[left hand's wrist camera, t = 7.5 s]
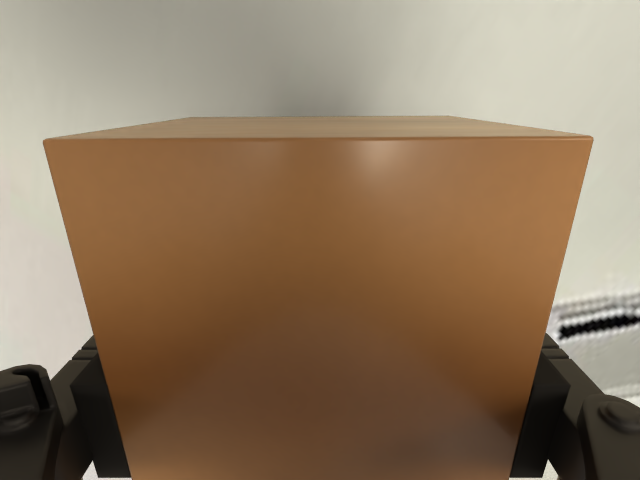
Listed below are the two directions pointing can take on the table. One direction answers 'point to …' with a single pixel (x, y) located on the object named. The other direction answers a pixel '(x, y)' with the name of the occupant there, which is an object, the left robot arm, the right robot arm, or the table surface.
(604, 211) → the table surface
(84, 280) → the long beam
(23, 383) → the left robot arm
